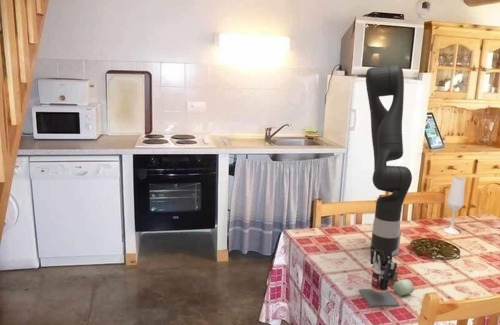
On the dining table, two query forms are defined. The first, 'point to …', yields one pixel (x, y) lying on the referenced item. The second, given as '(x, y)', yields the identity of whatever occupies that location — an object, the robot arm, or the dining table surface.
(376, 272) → the pill bottle
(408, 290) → the green tub
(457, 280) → the dining table surface
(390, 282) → the walnut cube
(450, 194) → the champagne flute
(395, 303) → the plate
